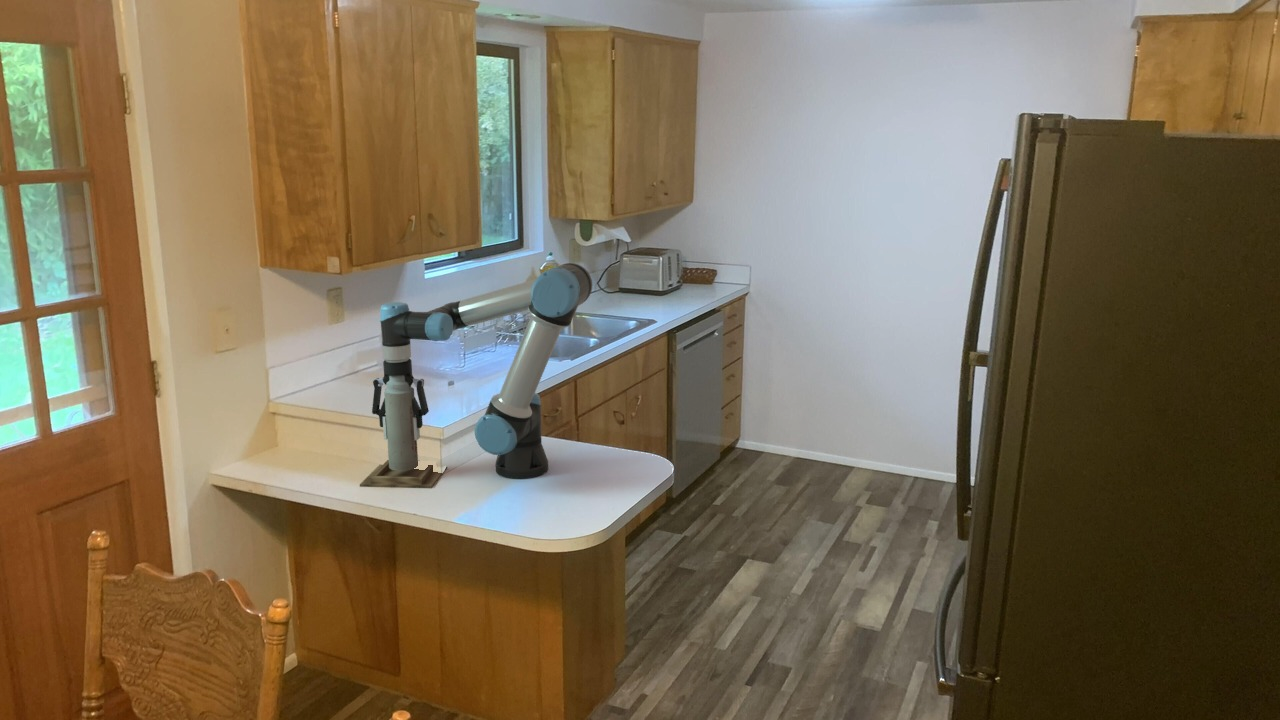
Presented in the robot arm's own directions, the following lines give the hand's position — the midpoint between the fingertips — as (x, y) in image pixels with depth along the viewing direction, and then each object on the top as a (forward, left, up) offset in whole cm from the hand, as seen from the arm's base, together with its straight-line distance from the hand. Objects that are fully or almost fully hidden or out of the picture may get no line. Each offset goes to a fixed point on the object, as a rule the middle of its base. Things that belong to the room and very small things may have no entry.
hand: (402, 438), depth 258 cm
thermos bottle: (0, 0, -8) cm, 8 cm away
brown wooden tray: (0, 0, -11) cm, 11 cm away
